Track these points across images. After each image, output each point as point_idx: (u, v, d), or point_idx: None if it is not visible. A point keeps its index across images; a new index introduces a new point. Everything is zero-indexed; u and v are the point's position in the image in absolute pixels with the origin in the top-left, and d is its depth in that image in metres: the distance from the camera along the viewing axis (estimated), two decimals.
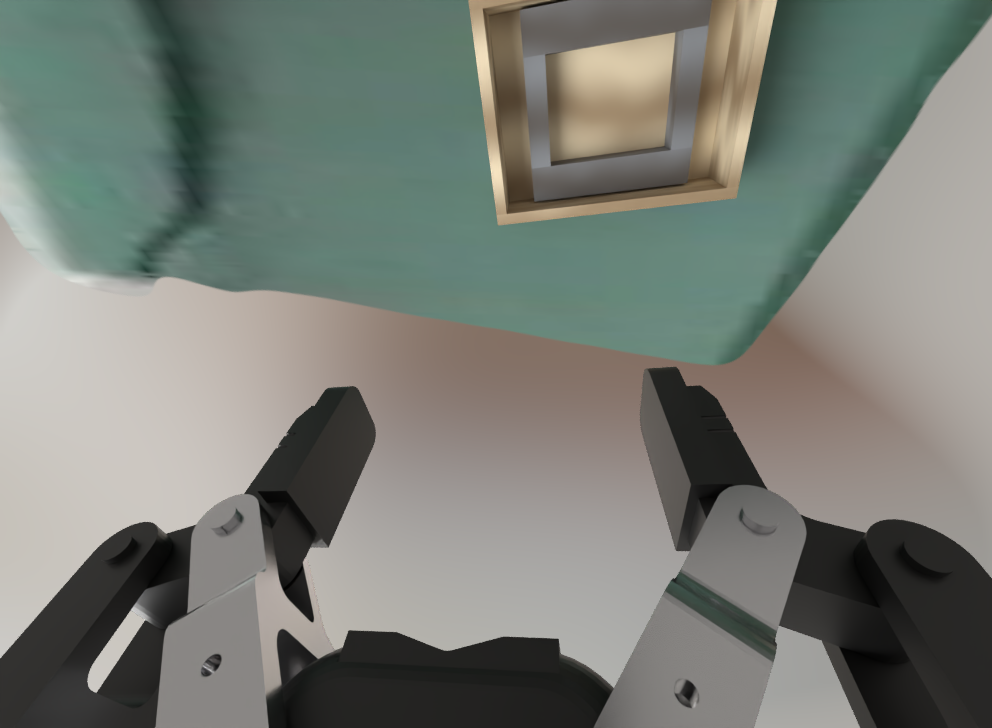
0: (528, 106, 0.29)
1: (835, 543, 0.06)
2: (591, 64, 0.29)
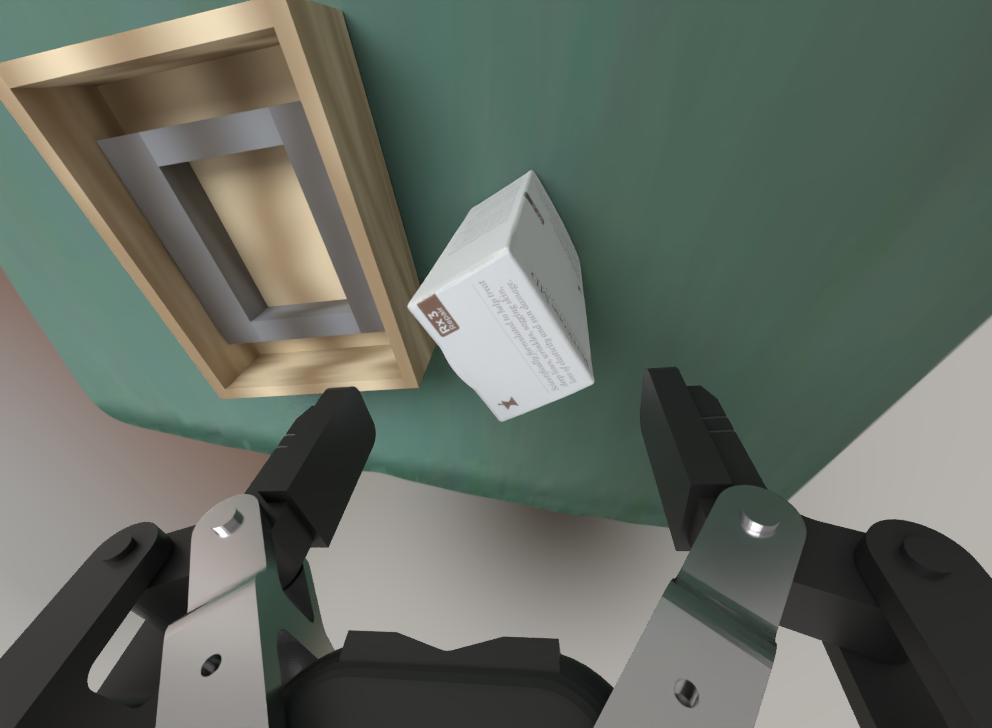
0: (214, 120, 0.18)
1: (835, 543, 0.06)
2: None
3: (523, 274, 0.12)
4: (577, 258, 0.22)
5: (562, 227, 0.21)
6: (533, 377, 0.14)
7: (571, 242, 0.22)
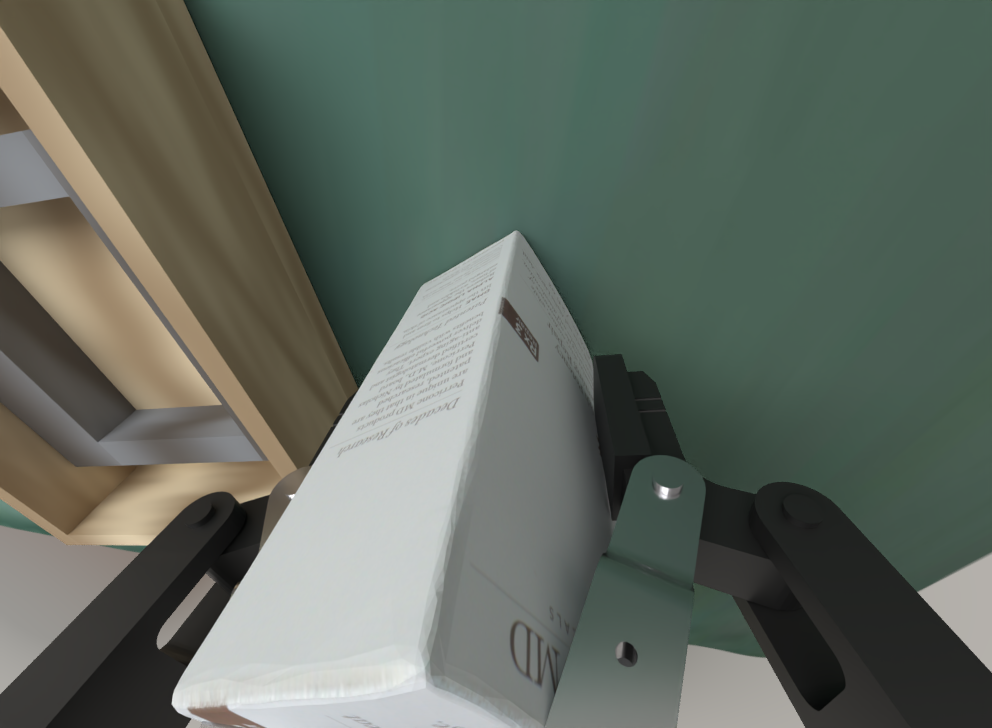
0: None
1: (735, 505, 0.07)
2: None
3: (484, 707, 0.04)
4: (589, 362, 0.14)
5: (566, 319, 0.13)
6: None
7: (579, 336, 0.14)
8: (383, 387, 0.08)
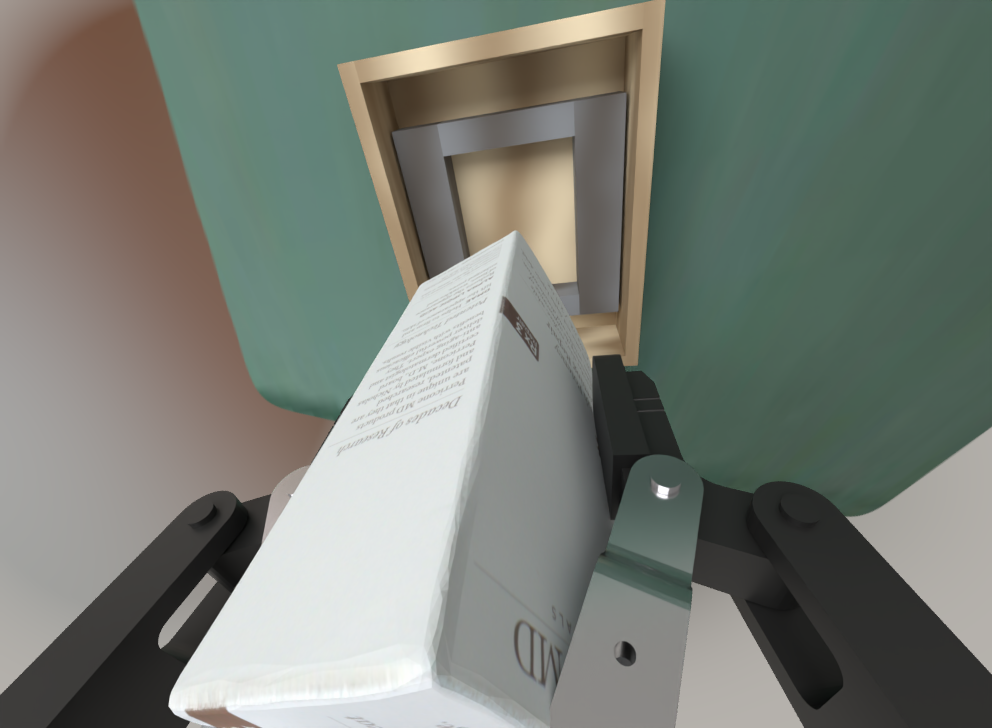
0: (516, 113, 0.20)
1: (733, 504, 0.07)
2: (557, 196, 0.24)
3: (488, 708, 0.04)
4: (587, 362, 0.14)
5: (565, 320, 0.13)
6: None
7: (578, 336, 0.14)
8: (382, 386, 0.08)
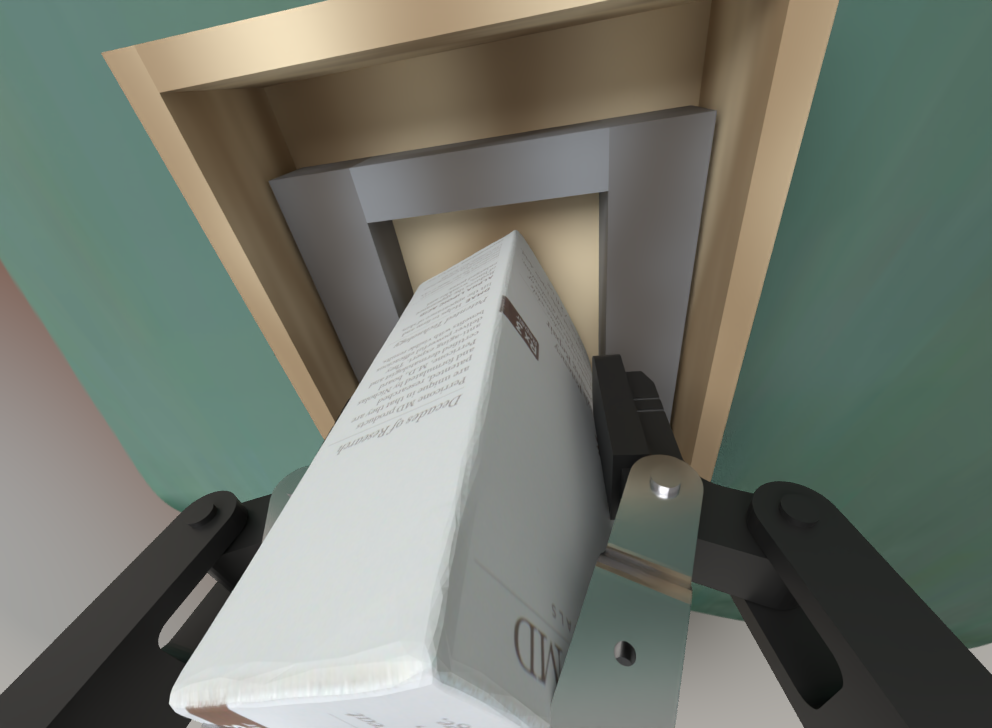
0: (497, 149, 0.10)
1: (733, 504, 0.07)
2: (570, 278, 0.14)
3: (488, 704, 0.04)
4: (587, 362, 0.14)
5: (565, 319, 0.13)
6: None
7: (577, 336, 0.14)
8: (383, 385, 0.08)
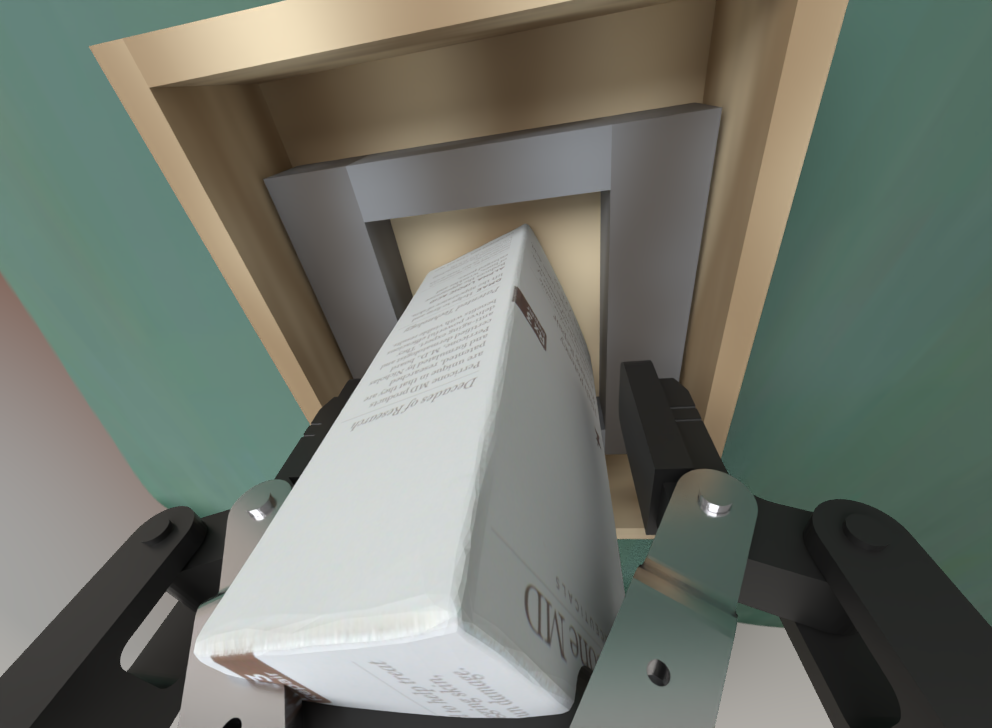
0: (497, 147, 0.10)
1: (787, 522, 0.06)
2: (571, 278, 0.14)
3: (503, 656, 0.04)
4: (588, 357, 0.15)
5: (569, 314, 0.14)
6: None
7: (580, 331, 0.15)
8: (394, 367, 0.09)
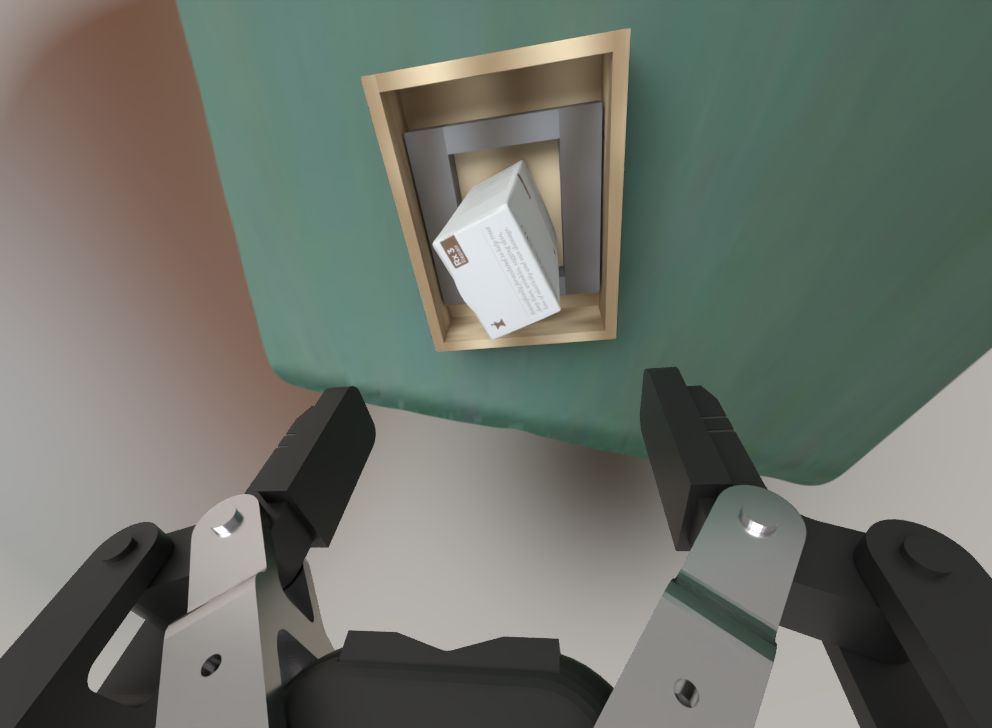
0: (510, 118, 0.23)
1: (835, 543, 0.06)
2: (545, 190, 0.28)
3: (516, 223, 0.17)
4: (554, 233, 0.28)
5: (544, 206, 0.27)
6: (518, 303, 0.19)
7: (550, 220, 0.28)
8: (470, 203, 0.22)
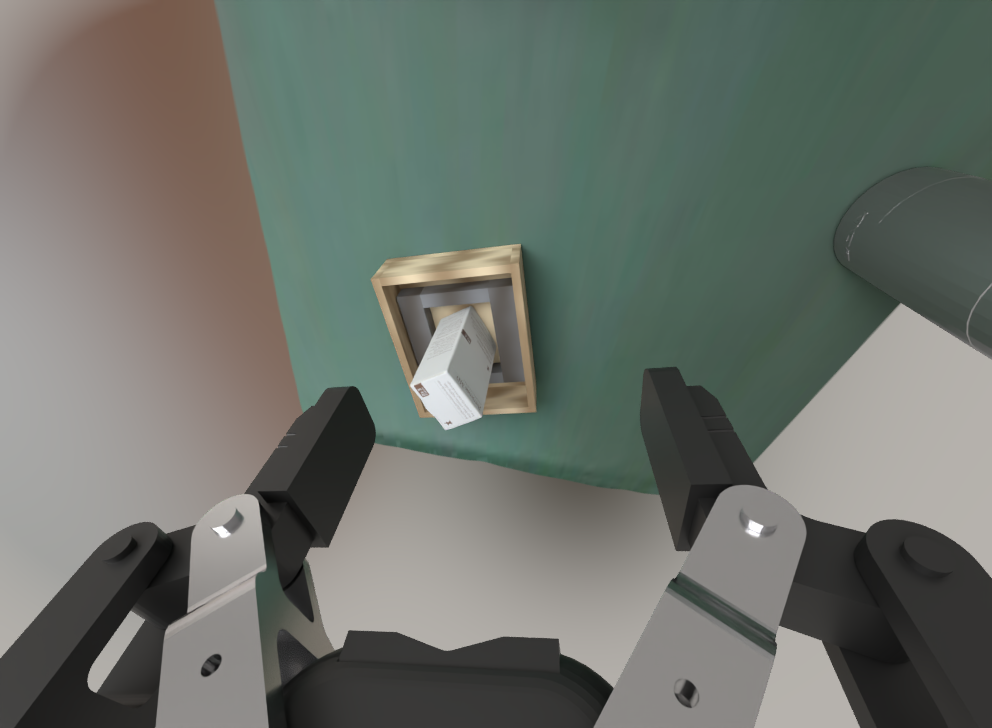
0: (459, 292, 0.39)
1: (835, 543, 0.06)
2: (487, 321, 0.43)
3: (452, 379, 0.33)
4: (493, 347, 0.44)
5: (485, 333, 0.43)
6: (457, 413, 0.35)
7: (491, 338, 0.44)
8: (434, 347, 0.38)
